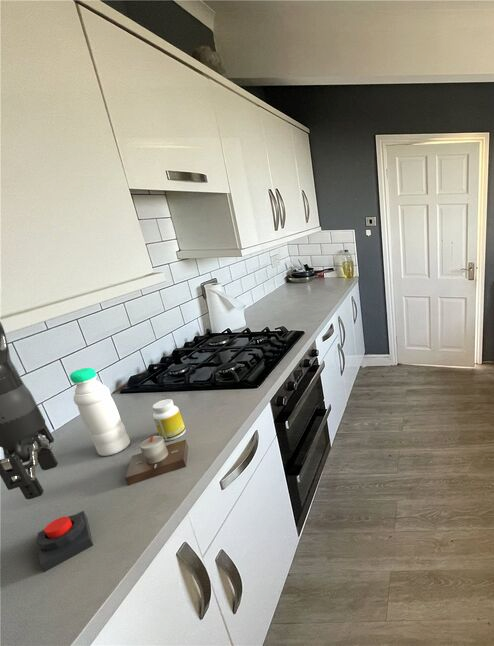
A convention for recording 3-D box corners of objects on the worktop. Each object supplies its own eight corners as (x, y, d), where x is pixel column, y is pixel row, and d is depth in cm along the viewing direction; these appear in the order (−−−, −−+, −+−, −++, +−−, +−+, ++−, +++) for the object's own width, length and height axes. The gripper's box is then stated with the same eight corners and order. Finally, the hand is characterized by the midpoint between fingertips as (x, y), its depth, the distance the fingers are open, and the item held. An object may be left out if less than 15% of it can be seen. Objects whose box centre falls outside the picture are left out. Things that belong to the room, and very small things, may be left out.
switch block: (42, 540, 72) (33, 526, 71) (87, 517, 77) (80, 504, 76) (44, 572, 66) (35, 557, 65) (93, 545, 71) (86, 531, 70)
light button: (47, 531, 70) (43, 525, 70) (71, 519, 73) (68, 513, 72) (48, 542, 68) (44, 536, 67) (73, 529, 71) (70, 523, 70)
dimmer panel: (128, 485, 86) (124, 477, 85) (135, 463, 93) (131, 455, 92) (186, 466, 91) (183, 458, 90) (188, 446, 98) (185, 438, 98)
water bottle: (117, 456, 95) (82, 377, 86) (91, 457, 95) (54, 378, 86) (137, 439, 102) (106, 364, 93) (113, 440, 102) (80, 364, 93)
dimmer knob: (168, 458, 90) (161, 442, 89) (145, 466, 88) (138, 450, 86) (168, 448, 94) (162, 432, 92) (146, 455, 92) (140, 439, 90)
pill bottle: (190, 427, 107) (180, 396, 103) (178, 441, 101) (166, 409, 97) (169, 428, 106) (158, 398, 102) (156, 442, 100) (143, 410, 96)
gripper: (19, 425, 58) (58, 497, 64) (47, 388, 70) (79, 452, 75) (-49, 442, 55) (-1, 517, 61) (-7, 400, 66) (30, 466, 72)
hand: (43, 481), depth 68 cm, fingers open, 8 cm apart
